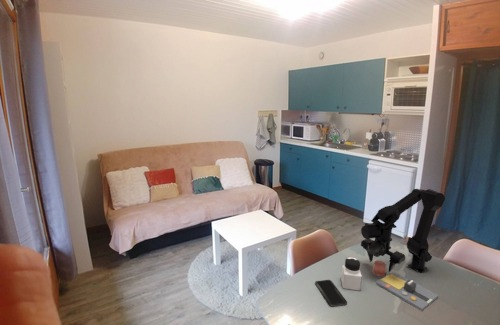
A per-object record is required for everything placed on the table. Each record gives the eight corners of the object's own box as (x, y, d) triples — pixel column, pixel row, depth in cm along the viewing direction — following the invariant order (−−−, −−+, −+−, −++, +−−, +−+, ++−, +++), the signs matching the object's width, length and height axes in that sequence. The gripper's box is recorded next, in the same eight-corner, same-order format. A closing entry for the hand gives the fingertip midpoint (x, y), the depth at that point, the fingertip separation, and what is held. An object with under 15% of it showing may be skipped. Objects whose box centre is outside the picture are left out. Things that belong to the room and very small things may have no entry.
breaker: (408, 286, 116) (409, 278, 115) (415, 290, 114) (416, 282, 113) (403, 289, 114) (404, 281, 113) (411, 293, 112) (412, 285, 111)
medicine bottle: (360, 291, 114) (363, 265, 112) (342, 288, 116) (345, 263, 113) (357, 280, 121) (359, 256, 119) (340, 278, 123) (343, 254, 120)
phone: (330, 305, 105) (314, 281, 119) (329, 308, 105) (314, 283, 119) (348, 303, 106) (330, 279, 121) (348, 305, 106) (330, 281, 121)
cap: (376, 268, 131) (378, 258, 130) (387, 273, 127) (388, 264, 125) (370, 271, 128) (371, 262, 127) (381, 277, 124) (382, 268, 123)
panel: (392, 273, 127) (393, 270, 126) (438, 297, 111) (438, 293, 111) (375, 283, 119) (376, 280, 119) (421, 311, 104) (422, 307, 103)
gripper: (355, 232, 126) (352, 262, 130) (394, 250, 111) (389, 283, 115) (369, 226, 133) (365, 255, 136) (408, 243, 117) (403, 274, 121)
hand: (379, 266), depth 127 cm, fingers open, 9 cm apart
